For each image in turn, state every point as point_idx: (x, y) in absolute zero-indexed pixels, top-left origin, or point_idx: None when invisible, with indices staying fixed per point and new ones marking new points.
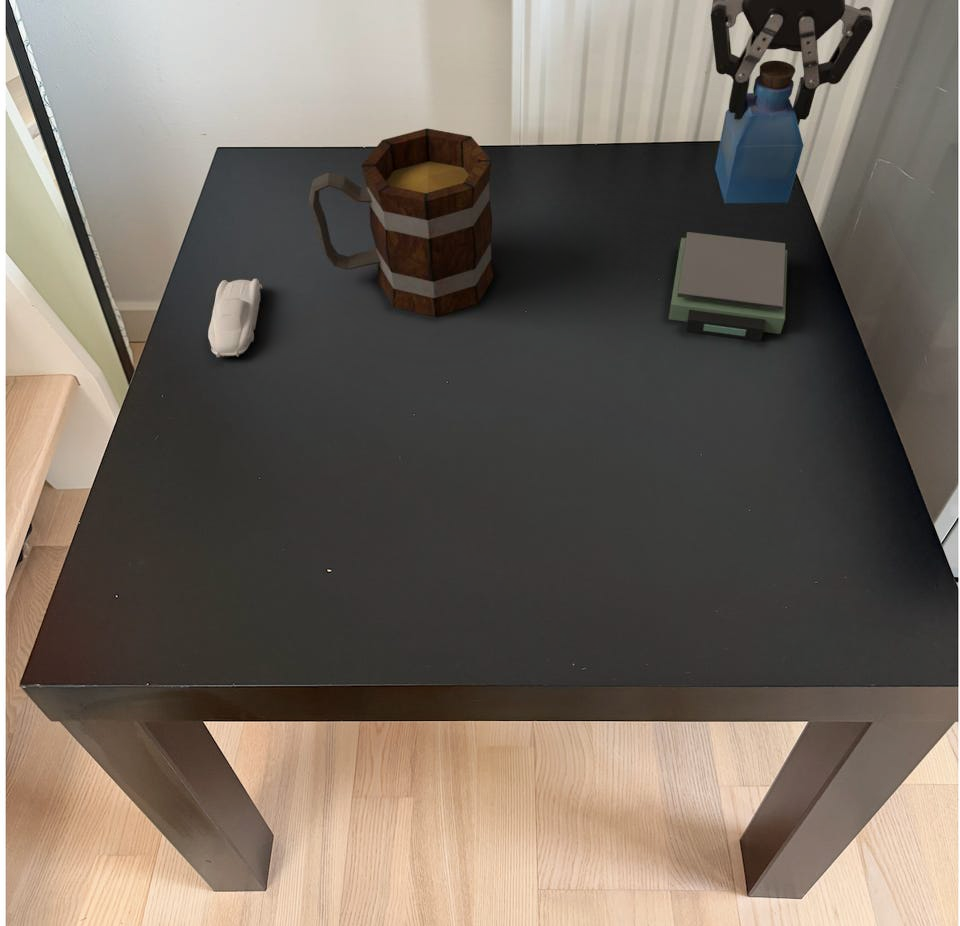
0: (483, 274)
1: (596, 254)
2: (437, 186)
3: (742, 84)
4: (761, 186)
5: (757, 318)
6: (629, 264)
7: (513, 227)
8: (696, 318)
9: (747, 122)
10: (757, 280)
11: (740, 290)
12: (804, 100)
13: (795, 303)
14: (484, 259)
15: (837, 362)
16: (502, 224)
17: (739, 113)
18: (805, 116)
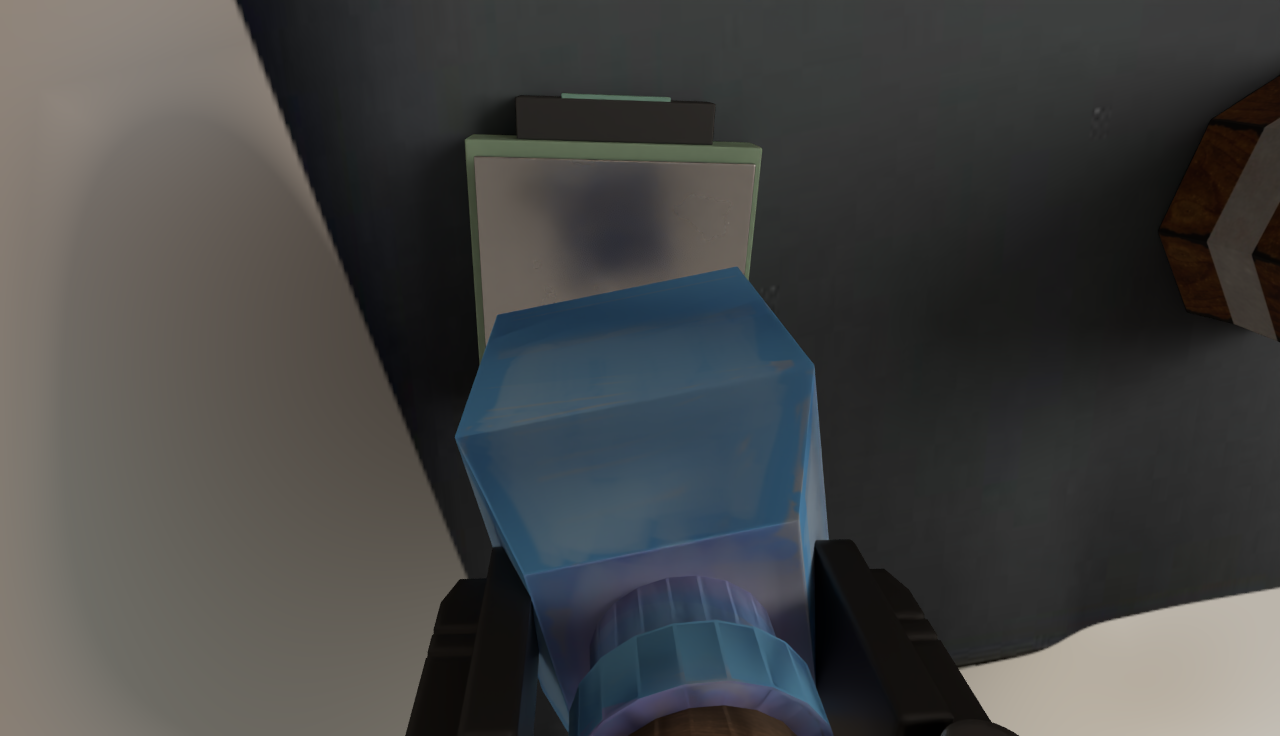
0: (1229, 183)
1: (912, 350)
2: None
3: (943, 712)
4: (615, 315)
5: (536, 139)
6: (839, 329)
7: (1090, 406)
8: (694, 109)
9: (804, 482)
10: (549, 253)
11: (591, 204)
12: (476, 663)
13: (447, 260)
14: (1259, 202)
15: (317, 46)
16: (1114, 411)
17: (842, 558)
18: (461, 592)
